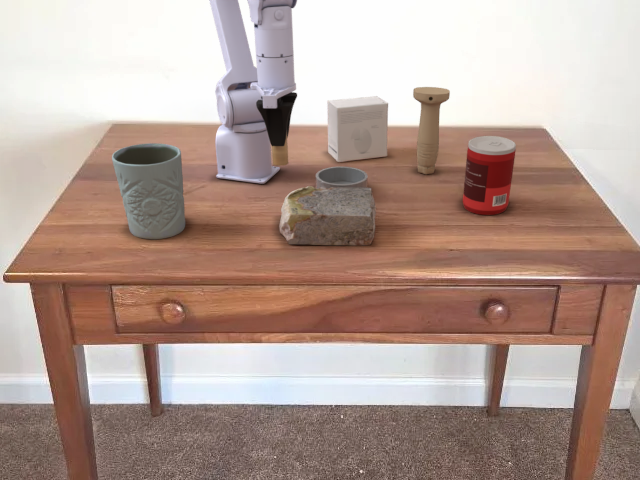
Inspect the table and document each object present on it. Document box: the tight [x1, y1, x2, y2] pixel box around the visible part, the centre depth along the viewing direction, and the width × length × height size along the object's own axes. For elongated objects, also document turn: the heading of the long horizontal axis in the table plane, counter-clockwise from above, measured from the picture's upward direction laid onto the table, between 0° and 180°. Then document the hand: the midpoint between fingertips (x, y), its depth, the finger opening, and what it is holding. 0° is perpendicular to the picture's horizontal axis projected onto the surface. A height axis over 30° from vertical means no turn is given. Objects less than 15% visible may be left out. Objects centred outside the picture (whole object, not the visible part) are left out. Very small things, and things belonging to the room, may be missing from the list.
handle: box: [412, 86, 451, 175], centre depth 135 cm, size 5×6×15 cm
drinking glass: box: [111, 142, 186, 240], centre depth 114 cm, size 10×10×12 cm
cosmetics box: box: [326, 95, 389, 163], centre depth 144 cm, size 10×6×10 cm, turn 111°
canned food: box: [462, 135, 517, 216], centre depth 123 cm, size 8×8×11 cm
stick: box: [271, 133, 289, 167], centre depth 120 cm, size 3×3×8 cm
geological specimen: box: [278, 185, 377, 246], centre depth 115 cm, size 11×6×15 cm
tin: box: [315, 166, 369, 189], centre depth 130 cm, size 9×9×3 cm
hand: (279, 142), depth 120 cm, fingers closed on stick, 2 cm apart
